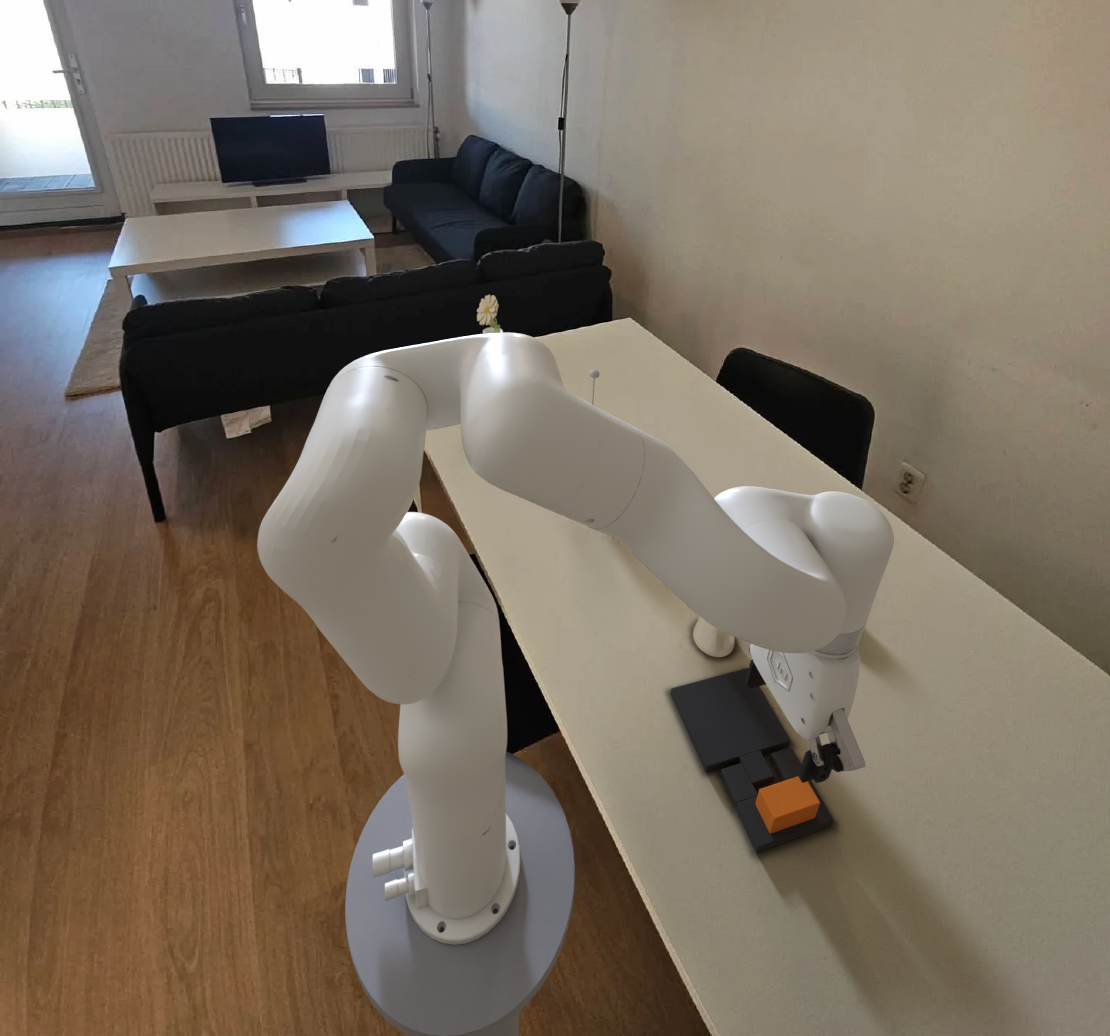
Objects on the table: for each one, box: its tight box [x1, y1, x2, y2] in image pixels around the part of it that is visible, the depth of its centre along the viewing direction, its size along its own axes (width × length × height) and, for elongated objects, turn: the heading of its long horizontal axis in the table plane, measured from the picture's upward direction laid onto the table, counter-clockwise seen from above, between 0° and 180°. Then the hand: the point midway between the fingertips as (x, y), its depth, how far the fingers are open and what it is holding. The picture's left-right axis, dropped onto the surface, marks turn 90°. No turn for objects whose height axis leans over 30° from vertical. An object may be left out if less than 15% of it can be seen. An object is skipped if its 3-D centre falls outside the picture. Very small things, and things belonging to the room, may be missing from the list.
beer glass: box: [692, 616, 736, 658], centre depth 88 cm, size 7×7×15 cm
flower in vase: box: [476, 294, 504, 334], centre depth 153 cm, size 13×11×25 cm
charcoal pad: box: [670, 667, 792, 789], centre depth 79 cm, size 12×13×1 cm
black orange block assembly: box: [719, 747, 835, 854], centre depth 71 cm, size 10×8×4 cm
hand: (783, 726), depth 65 cm, fingers open, 9 cm apart
